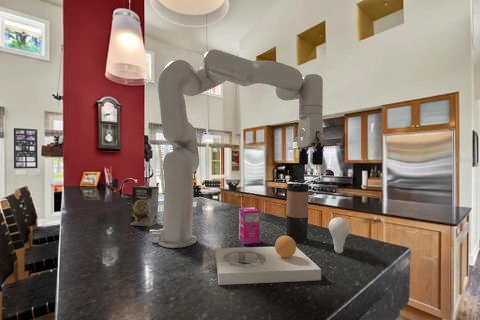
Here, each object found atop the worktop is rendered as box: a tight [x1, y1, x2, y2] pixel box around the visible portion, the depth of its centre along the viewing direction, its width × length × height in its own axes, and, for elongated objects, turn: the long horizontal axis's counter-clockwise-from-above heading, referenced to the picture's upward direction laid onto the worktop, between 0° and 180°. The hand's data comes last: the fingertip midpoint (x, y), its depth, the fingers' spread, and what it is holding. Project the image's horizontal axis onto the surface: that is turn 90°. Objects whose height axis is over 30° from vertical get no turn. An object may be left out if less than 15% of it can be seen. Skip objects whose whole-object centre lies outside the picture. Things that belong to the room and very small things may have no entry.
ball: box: [274, 235, 297, 258], centre depth 63 cm, size 6×6×6 cm
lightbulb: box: [328, 216, 351, 254], centre depth 74 cm, size 6×6×11 cm
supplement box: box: [238, 206, 261, 247], centre depth 82 cm, size 6×6×12 cm
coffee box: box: [130, 185, 160, 227], centre depth 103 cm, size 9×6×16 cm
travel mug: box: [285, 182, 309, 244], centre depth 87 cm, size 8×8×20 cm
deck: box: [214, 246, 322, 286], centre depth 62 cm, size 24×16×2 cm, turn 99°
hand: (310, 164), depth 80 cm, fingers open, 9 cm apart
